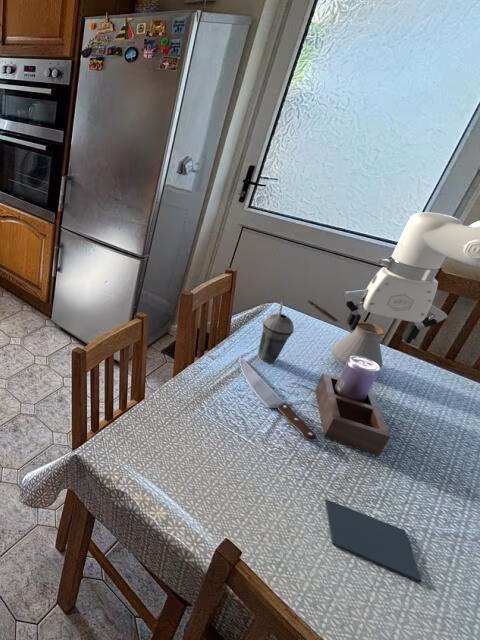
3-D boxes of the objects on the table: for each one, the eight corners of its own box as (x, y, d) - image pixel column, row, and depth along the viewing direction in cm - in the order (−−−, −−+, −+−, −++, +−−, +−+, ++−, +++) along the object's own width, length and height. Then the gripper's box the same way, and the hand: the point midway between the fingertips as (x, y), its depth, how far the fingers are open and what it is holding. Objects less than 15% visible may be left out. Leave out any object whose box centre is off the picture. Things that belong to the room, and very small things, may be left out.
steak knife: (297, 442, 97) (300, 436, 96) (224, 359, 125) (226, 354, 124) (317, 443, 97) (320, 437, 96) (240, 360, 125) (242, 355, 124)
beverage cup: (284, 368, 121) (307, 311, 112) (255, 363, 123) (275, 306, 114) (276, 353, 127) (298, 298, 118) (249, 348, 129) (268, 294, 121)
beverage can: (361, 420, 103) (386, 373, 97) (332, 414, 105) (355, 368, 98) (350, 403, 108) (373, 357, 102) (322, 397, 110) (344, 353, 104)
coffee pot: (382, 365, 121) (404, 323, 115) (373, 382, 115) (396, 338, 109) (297, 332, 137) (312, 293, 130) (284, 345, 130) (299, 305, 124)
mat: (403, 531, 79) (405, 530, 79) (420, 582, 71) (421, 581, 71) (324, 500, 85) (325, 498, 84) (332, 544, 77) (332, 542, 77)
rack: (315, 389, 113) (322, 372, 110) (362, 403, 108) (372, 386, 105) (324, 437, 99) (333, 418, 96) (379, 455, 94) (390, 437, 91)
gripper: (362, 266, 91) (333, 330, 98) (475, 286, 82) (434, 354, 90) (356, 254, 96) (328, 315, 104) (461, 271, 88) (423, 336, 95)
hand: (377, 333), depth 97 cm, fingers open, 9 cm apart
